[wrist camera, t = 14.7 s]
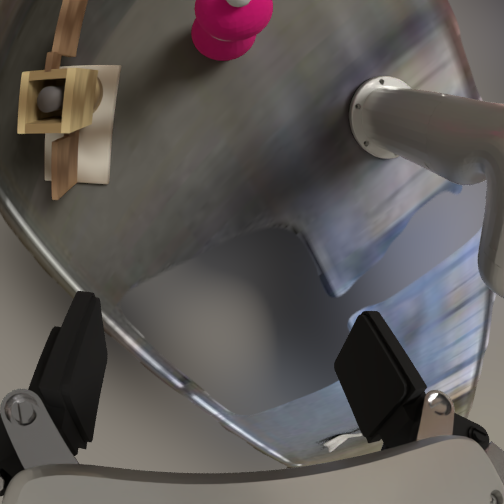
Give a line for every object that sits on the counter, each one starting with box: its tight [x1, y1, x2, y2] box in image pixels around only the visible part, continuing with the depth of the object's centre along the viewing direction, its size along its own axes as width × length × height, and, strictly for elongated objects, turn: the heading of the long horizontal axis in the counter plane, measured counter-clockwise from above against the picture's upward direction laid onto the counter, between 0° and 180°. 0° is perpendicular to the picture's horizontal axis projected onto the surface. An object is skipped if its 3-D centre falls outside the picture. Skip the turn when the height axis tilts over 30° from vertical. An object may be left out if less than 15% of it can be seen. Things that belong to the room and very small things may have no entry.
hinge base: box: [37, 65, 121, 200], centre depth 30 cm, size 16×10×10 cm, turn 169°
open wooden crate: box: [18, 0, 98, 134], centre depth 24 cm, size 16×7×7 cm, turn 169°
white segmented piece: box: [323, 433, 362, 452], centre depth 85 cm, size 9×32×4 cm, turn 115°
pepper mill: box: [191, 0, 273, 61], centre depth 23 cm, size 7×7×20 cm
